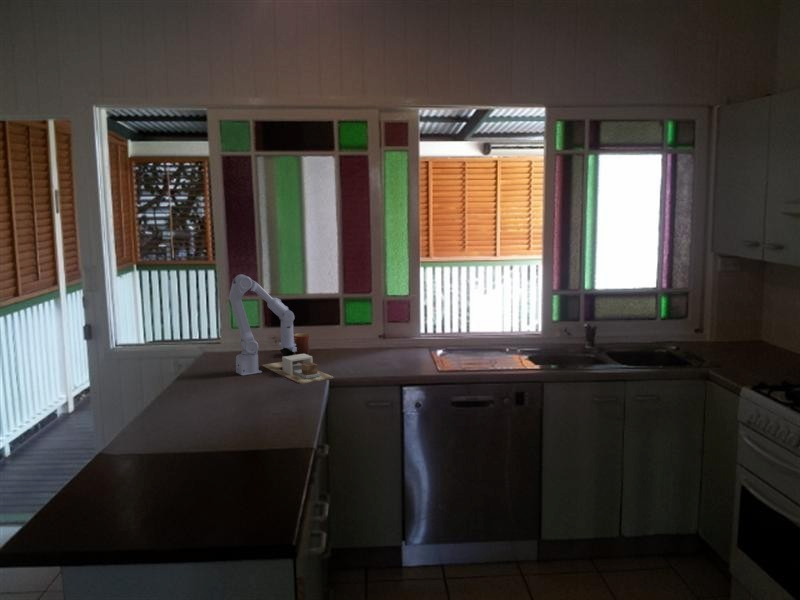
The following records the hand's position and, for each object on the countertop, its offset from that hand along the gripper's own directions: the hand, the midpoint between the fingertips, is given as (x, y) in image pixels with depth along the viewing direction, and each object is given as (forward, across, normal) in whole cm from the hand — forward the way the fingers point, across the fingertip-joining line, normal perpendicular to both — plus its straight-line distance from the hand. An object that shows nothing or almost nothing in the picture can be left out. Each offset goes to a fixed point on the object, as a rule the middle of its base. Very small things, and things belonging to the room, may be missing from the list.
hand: (287, 364), depth 290 cm
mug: (+2, +21, -17) cm, 27 cm away
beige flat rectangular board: (+2, -8, 0) cm, 8 cm away
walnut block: (0, -21, 0) cm, 21 cm away
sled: (+1, -13, 0) cm, 13 cm away
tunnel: (+2, -10, 0) cm, 10 cm away
